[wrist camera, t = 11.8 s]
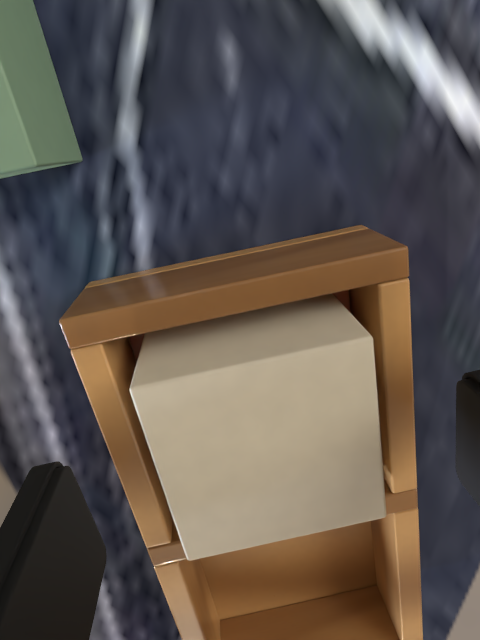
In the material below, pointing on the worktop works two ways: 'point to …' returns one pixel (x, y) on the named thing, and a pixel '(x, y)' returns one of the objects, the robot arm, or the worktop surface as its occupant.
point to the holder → (295, 553)
